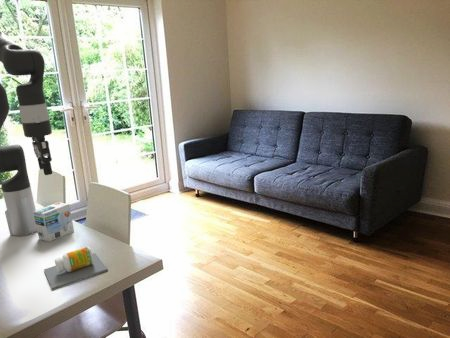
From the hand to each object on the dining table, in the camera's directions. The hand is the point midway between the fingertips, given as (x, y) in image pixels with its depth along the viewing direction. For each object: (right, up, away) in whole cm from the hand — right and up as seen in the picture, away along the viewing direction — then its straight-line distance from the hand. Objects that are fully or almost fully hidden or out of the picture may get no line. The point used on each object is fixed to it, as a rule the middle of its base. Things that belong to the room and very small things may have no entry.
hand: (46, 171), depth 116 cm
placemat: (+12, -29, -7) cm, 32 cm away
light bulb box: (-6, -24, +21) cm, 32 cm away
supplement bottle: (+16, -25, -5) cm, 30 cm away
